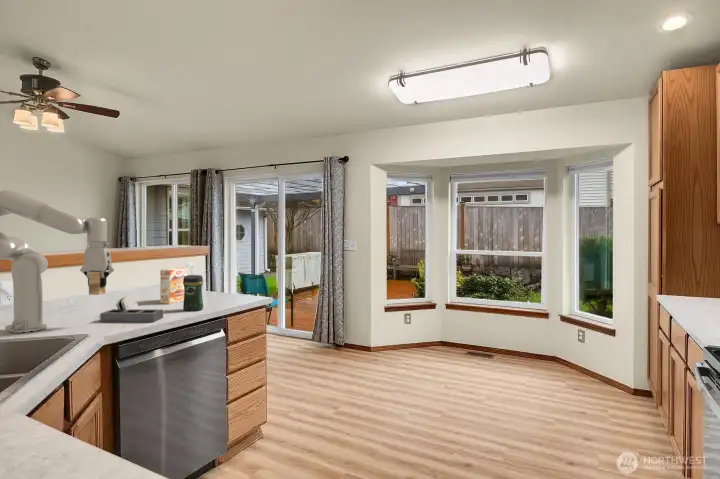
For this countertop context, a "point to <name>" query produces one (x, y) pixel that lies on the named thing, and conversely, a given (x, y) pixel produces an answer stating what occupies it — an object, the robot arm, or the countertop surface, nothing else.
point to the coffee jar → (193, 293)
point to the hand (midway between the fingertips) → (97, 286)
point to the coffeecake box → (172, 285)
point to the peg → (95, 283)
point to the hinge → (127, 303)
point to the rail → (131, 315)
